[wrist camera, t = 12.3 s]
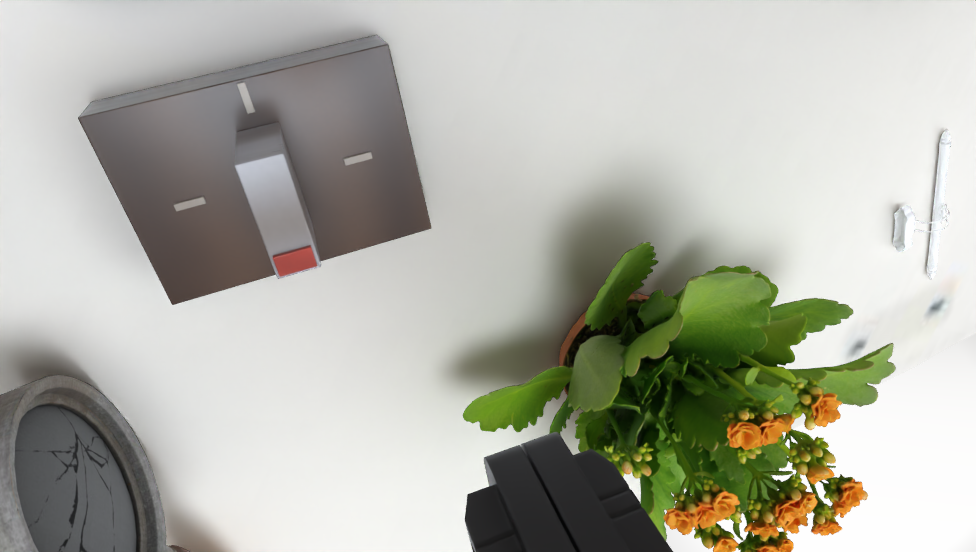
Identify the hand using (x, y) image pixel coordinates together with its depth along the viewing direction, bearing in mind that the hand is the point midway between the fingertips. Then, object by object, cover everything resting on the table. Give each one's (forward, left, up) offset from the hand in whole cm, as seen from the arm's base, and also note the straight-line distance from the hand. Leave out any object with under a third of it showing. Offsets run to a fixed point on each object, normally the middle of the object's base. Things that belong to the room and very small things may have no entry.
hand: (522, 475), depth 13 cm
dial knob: (+4, +2, -24) cm, 24 cm away
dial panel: (+4, +2, -27) cm, 27 cm away
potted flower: (-20, +14, -27) cm, 37 cm away
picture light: (-45, +3, -27) cm, 53 cm away
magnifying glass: (+11, +24, -27) cm, 38 cm away
